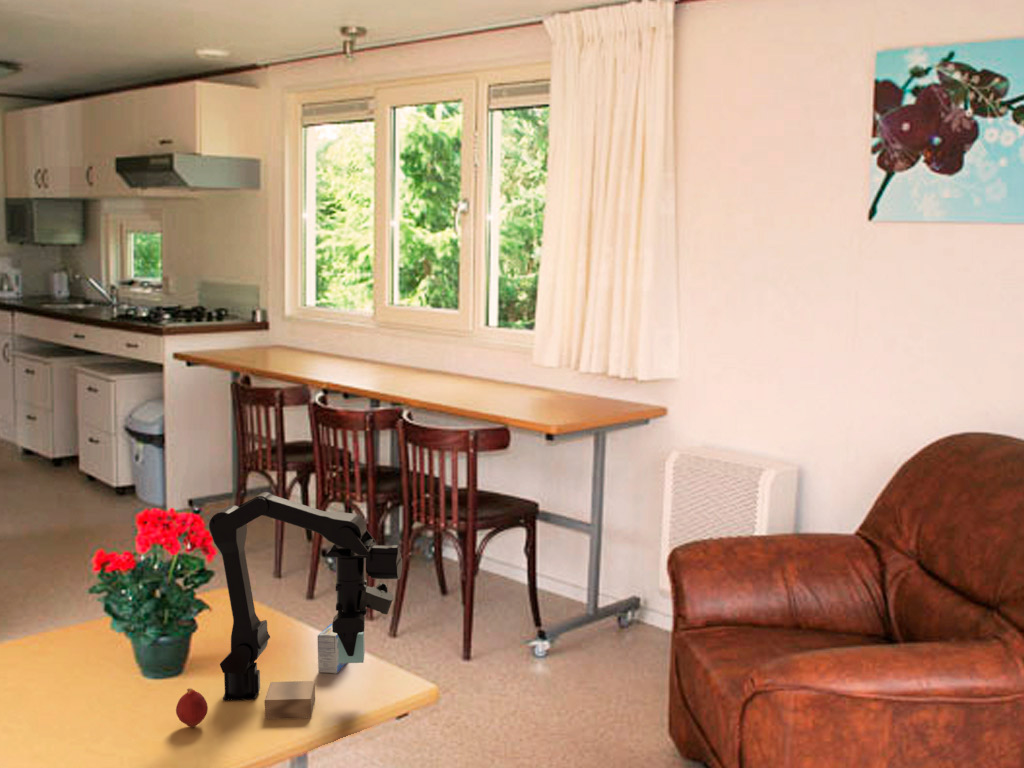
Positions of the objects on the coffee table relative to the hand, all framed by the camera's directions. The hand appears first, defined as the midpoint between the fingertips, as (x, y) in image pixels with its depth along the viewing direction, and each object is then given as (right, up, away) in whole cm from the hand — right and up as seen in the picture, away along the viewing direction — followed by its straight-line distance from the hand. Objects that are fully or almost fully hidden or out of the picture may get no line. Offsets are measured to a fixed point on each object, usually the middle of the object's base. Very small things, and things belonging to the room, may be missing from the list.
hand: (351, 651), depth 229 cm
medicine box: (-7, -8, +19) cm, 22 cm away
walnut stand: (-12, -11, -4) cm, 16 cm away
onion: (-29, -12, -12) cm, 34 cm away
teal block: (0, -2, 0) cm, 2 cm away
